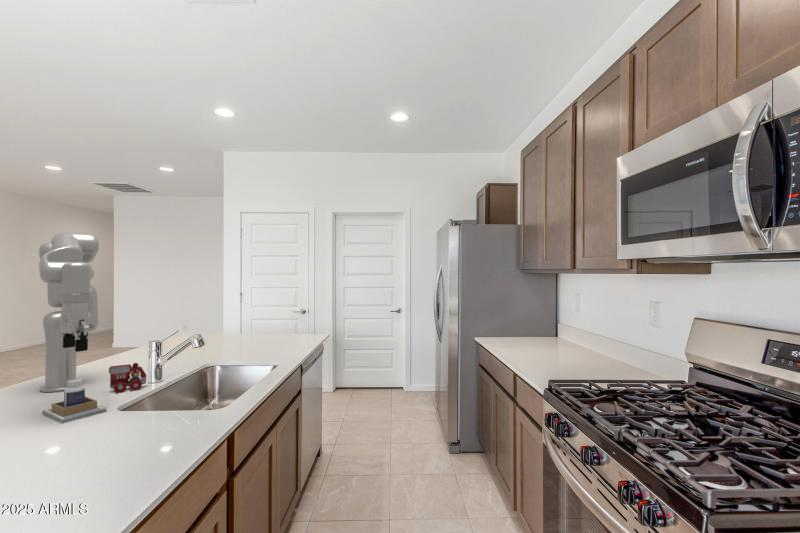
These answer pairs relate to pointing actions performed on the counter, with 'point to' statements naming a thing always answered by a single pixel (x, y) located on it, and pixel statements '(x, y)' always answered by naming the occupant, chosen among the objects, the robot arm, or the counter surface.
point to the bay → (73, 410)
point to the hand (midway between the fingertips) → (75, 349)
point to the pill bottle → (74, 393)
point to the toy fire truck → (126, 377)
